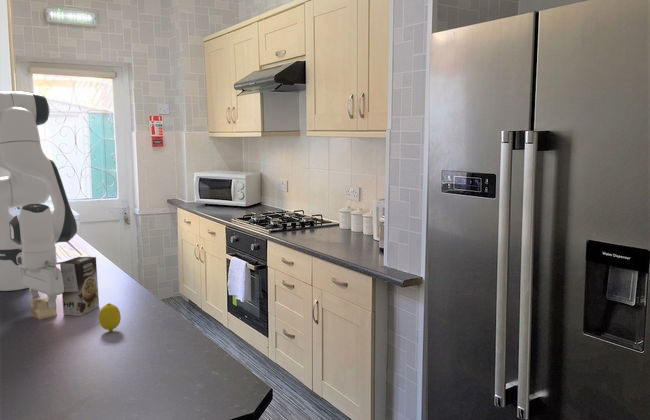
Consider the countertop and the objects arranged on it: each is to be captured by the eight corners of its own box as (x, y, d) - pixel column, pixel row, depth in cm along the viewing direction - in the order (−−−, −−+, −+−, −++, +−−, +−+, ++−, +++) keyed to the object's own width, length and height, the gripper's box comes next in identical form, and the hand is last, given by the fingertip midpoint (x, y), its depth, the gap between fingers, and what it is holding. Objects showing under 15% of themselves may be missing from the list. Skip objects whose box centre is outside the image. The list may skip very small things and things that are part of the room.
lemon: (125, 329, 153) (124, 301, 151) (112, 336, 147) (110, 307, 146) (109, 326, 154) (107, 299, 153) (95, 333, 149) (93, 305, 148)
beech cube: (31, 316, 164) (30, 300, 163) (48, 311, 168) (47, 296, 167) (39, 319, 161) (38, 303, 160) (56, 315, 165) (55, 299, 164)
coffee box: (82, 316, 163) (78, 263, 161) (62, 315, 164) (58, 262, 162) (100, 306, 172) (96, 256, 170) (81, 305, 173) (78, 255, 171)
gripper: (67, 262, 157) (71, 308, 159) (35, 253, 170) (39, 296, 172) (45, 266, 153) (49, 314, 154) (13, 257, 165) (17, 301, 167)
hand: (43, 305), depth 163 cm, fingers open, 8 cm apart
